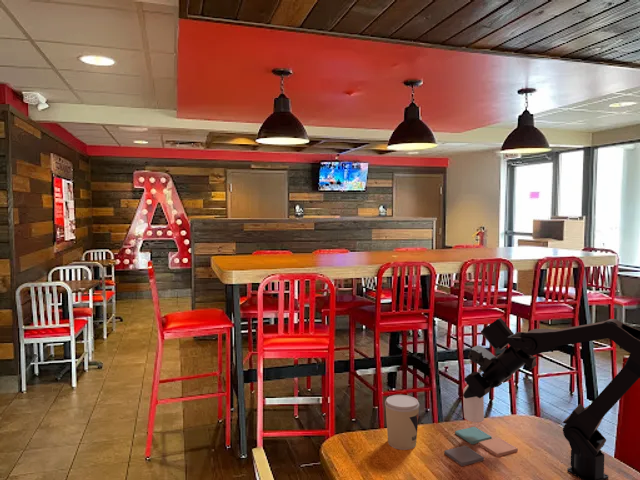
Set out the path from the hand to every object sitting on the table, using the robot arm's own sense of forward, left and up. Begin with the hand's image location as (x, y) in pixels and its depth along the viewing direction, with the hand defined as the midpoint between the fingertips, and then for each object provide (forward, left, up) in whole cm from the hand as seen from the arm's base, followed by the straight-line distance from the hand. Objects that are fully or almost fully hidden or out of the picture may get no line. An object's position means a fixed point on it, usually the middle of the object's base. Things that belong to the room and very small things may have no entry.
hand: (469, 393), depth 137 cm
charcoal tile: (-9, +9, -12) cm, 18 cm away
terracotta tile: (-9, -2, -12) cm, 15 cm away
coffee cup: (+4, +20, -12) cm, 24 cm away
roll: (-1, -1, -7) cm, 7 cm away
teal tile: (-1, -1, -12) cm, 12 cm away
